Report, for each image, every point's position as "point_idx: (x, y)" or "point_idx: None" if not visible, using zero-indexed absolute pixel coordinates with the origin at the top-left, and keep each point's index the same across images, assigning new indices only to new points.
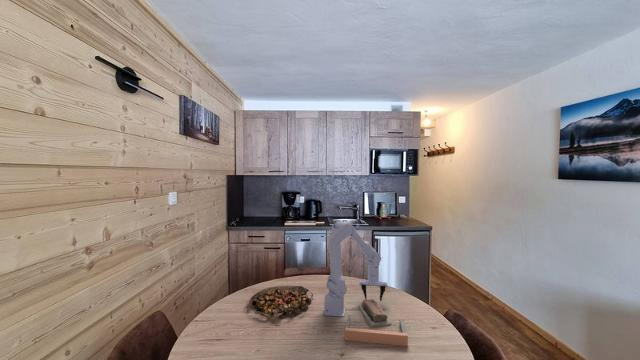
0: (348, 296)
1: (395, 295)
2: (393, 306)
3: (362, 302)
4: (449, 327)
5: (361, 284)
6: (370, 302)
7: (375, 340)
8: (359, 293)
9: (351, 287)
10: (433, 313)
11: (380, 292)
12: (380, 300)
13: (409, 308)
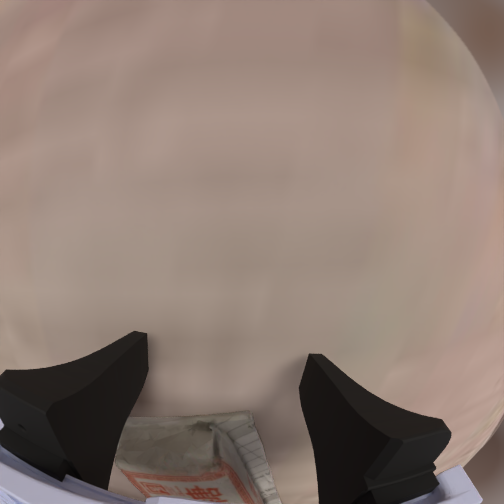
0: (9, 211)
1: (477, 176)
2: (387, 392)
3: (118, 453)
4: (466, 460)
5: (11, 466)
6: None
7: None
8: (98, 114)
9: (69, 7)
10: (501, 397)
11: (325, 454)
12: (302, 394)
13: (458, 388)
